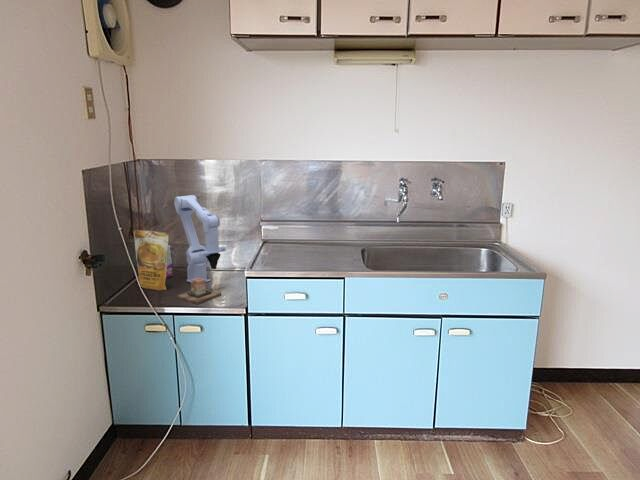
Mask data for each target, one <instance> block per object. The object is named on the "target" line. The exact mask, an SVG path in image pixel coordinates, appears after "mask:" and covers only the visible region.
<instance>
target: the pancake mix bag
mask: <svg viewBox="0 0 640 480" xmlns="http://www.w3.org/2000/svg"><path fill="white" fill-rule="evenodd" d="M132 233H133V240H134V249H135V259H136V263H137V264H136V265H137V272H138V284H139V283H140V285H141V287H142V289H147V290H154V291H167V286H166V279H167V278H166V268H167V257H168V245H169V243H170V234H168V233H167V232H166V231H154V230H147V229H145V230H144V229H134V230H132ZM169 246H170V245H169ZM141 287H140V288H141Z"/></svg>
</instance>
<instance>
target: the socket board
mask: <svg viewBox="0 0 640 480" xmlns="http://www.w3.org/2000/svg"><path fill="white" fill-rule="evenodd" d="M221 296H222V292H219V291H215V290H212V289H210V288H206V293H204V294H201V295H195V294H192V290H188V291H185V292H182V293H180V294H177V295H176V297H177V299H180V300H183V301H185V302H188V303H191V304H195V305H200V304H203V303H205V302H208V301H210V300H213V299H215V298H218V297H221Z"/></svg>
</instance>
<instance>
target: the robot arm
mask: <svg viewBox="0 0 640 480" xmlns="http://www.w3.org/2000/svg"><path fill="white" fill-rule="evenodd" d="M173 201H174V202H173V203H174V204H173V205H174V208H175V212H176V214H177V215H178V216H180V219H181V222H182V227H183V230H184V232H185V236H186V240H187V243H188V245H189V247H188V249H187V250H186V251H185V255H186V262H187V264H188V266H187V268H186V273H187V279H186V282H189V283H191V280H192V279H196V278H202V279H205V283H207V282H210V281H211V279H210V278H209V279H208V277H207V265H208V263H209V265H210V268H211V269H212V270H216V269H217V266H218V263H219V259H220V257H221V253H222V252H226V251H227V249H226V247H225V246H220V245H219V230H218V229H219V228H218V227H220V225H221V222H220V217H219V216H218V214H212V213H211V211H209V210H208V209H207V208H206V207H202V205H200V203H199V202H198V199H197V196H196V195H194V194H190V195H183V196H181V195H178V196H175V197H174V200H173ZM194 212H195V215H196V217H197V218H198V219H199V221H200V222H202V226H203V232H204V233H205V246H204V245H202V244H200V241H199V237H198V233H197V231H196V228H195V225H194V221H193V219H192V214H194Z"/></svg>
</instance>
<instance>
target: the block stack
mask: <svg viewBox="0 0 640 480" xmlns="http://www.w3.org/2000/svg"><path fill="white" fill-rule="evenodd" d="M190 286H191V290H192V294H195V295H201V294H204V293H206V289H207V288H206V282H205V279H202V278H196V279H192V280H191V282H190ZM191 290H190V291H191Z"/></svg>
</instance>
